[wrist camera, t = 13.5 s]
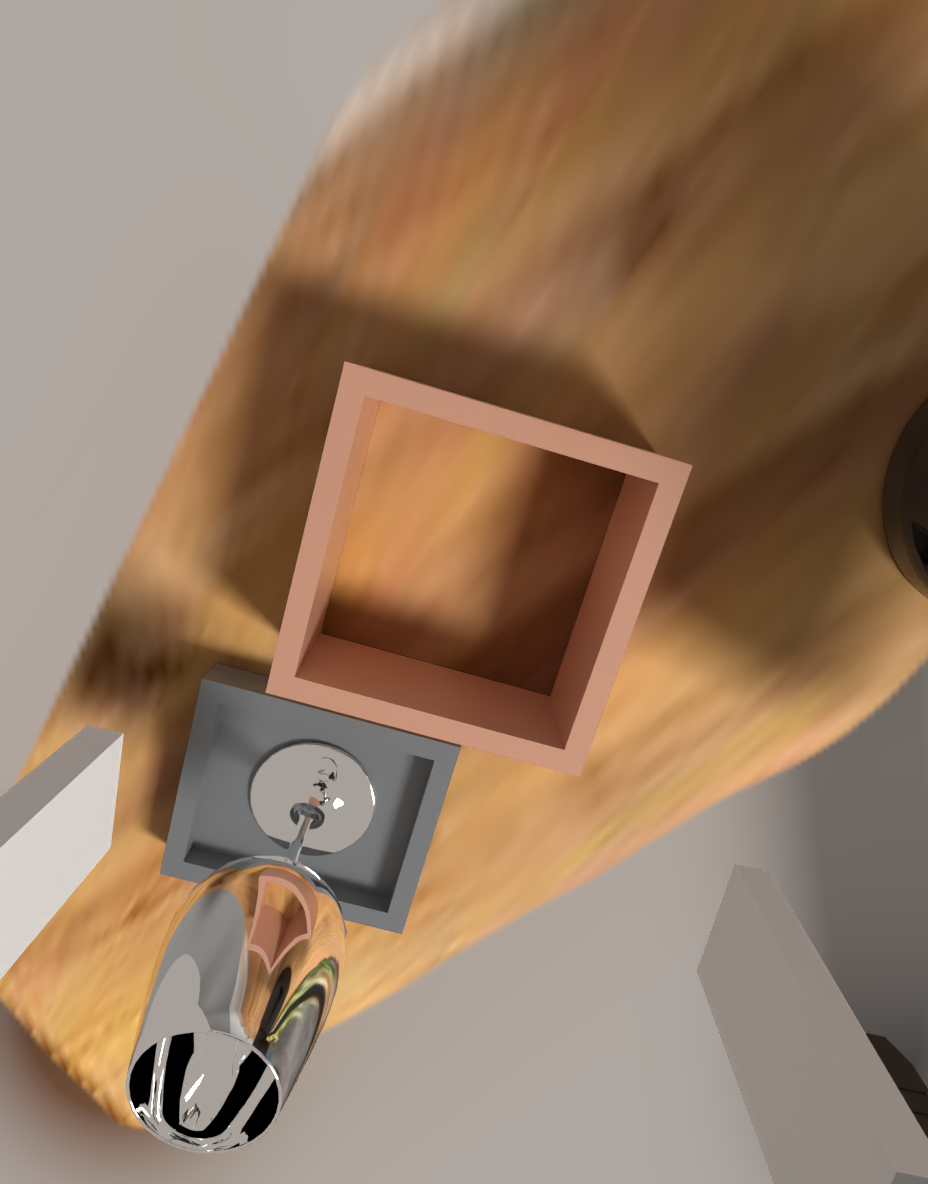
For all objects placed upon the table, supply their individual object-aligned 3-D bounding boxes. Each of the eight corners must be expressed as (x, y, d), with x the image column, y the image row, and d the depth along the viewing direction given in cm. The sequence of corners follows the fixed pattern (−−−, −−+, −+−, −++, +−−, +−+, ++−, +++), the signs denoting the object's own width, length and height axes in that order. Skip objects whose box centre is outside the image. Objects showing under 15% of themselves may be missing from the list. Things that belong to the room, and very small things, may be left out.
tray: (461, 728, 46) (460, 747, 44) (404, 907, 49) (401, 934, 47) (216, 662, 45) (201, 678, 43) (175, 849, 48) (159, 873, 46)
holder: (656, 452, 42) (692, 465, 35) (563, 719, 46) (579, 776, 39) (365, 365, 41) (344, 361, 34) (296, 646, 45) (265, 692, 38)
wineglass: (371, 862, 47) (306, 1190, 28) (245, 847, 47) (90, 1168, 28) (384, 747, 45) (324, 1015, 26) (252, 731, 45) (92, 989, 26)
